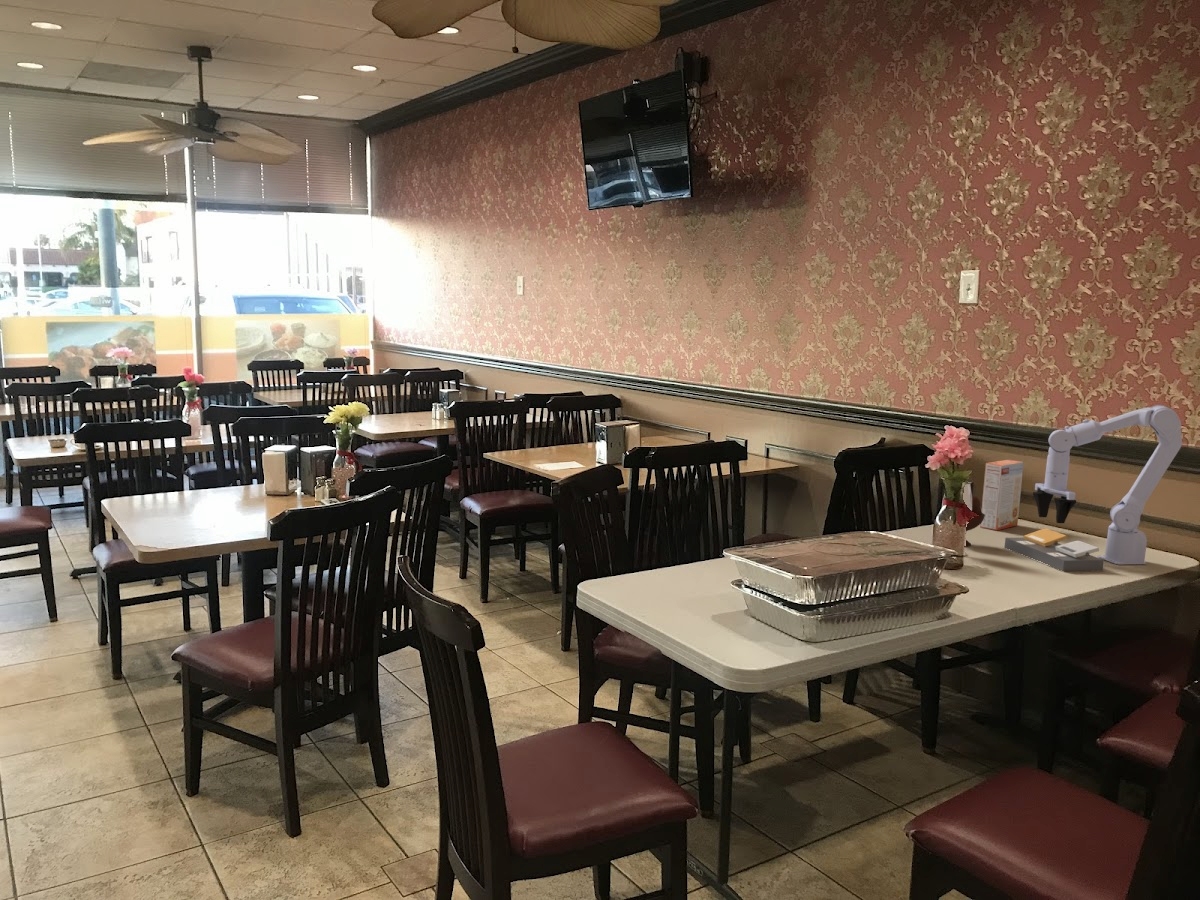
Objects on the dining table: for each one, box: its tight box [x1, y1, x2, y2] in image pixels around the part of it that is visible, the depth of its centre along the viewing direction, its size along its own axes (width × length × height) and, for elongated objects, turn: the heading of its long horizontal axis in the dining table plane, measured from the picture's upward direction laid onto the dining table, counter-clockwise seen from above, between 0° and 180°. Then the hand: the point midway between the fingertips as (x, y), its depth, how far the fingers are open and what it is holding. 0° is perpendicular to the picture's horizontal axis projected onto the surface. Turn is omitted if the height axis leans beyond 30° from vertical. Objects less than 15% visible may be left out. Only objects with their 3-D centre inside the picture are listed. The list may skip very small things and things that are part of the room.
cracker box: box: [979, 459, 1024, 531], centre depth 301 cm, size 14×6×21 cm, turn 130°
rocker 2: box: [1055, 540, 1100, 558], centre depth 256 cm, size 7×8×2 cm
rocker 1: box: [1023, 527, 1068, 547], centre depth 268 cm, size 7×9×2 cm
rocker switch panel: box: [1003, 537, 1105, 572], centre depth 263 cm, size 16×25×3 cm, turn 12°
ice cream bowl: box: [966, 493, 985, 547], centre depth 275 cm, size 11×11×15 cm
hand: (1051, 520), depth 269 cm, fingers open, 7 cm apart
